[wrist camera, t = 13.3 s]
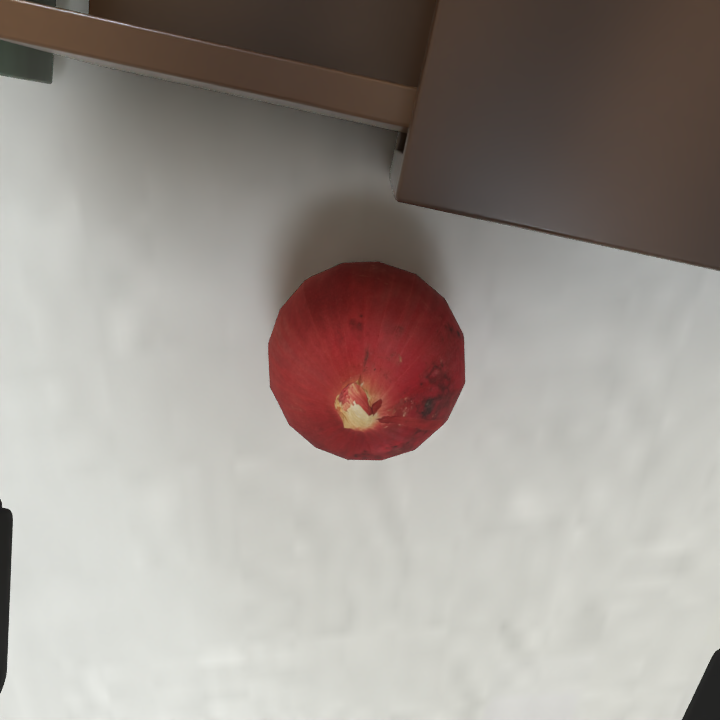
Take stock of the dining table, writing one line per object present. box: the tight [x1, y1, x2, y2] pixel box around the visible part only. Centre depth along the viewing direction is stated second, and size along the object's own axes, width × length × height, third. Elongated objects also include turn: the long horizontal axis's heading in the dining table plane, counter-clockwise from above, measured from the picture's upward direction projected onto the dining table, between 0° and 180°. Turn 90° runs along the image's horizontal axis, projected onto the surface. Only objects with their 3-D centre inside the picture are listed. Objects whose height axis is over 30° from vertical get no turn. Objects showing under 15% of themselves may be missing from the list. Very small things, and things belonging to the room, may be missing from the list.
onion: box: [268, 262, 465, 460], centre depth 19 cm, size 6×6×8 cm
